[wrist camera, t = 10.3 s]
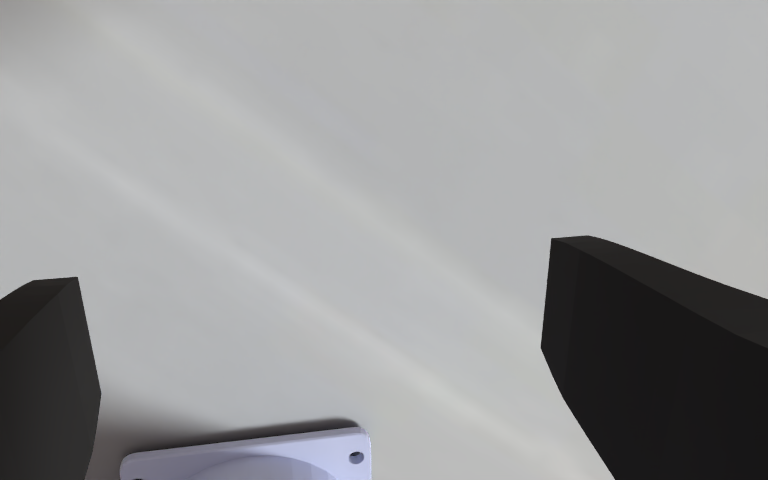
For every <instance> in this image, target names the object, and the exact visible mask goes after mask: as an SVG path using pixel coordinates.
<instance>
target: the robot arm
mask: <svg viewBox="0 0 768 480" xmlns="http://www.w3.org/2000/svg"><path fill="white" fill-rule="evenodd" d="M541 350H542V352H543V354H544V357H545V359H546V361H547V364H548V366H549V369H550V371H551V373H552V376H553V378H554V380H555V382H556V384H557V386H558V388H559V391H560V393H561V395H562V397H563V399H564V400H565V402H566V404H567V405H568V407H569V409H570V410H571V412H572V413H573V415H574V416H575V418H576V420H577V421H578V423H579V424H580V426H581V428H582V429H583V431H584V432H585V434H586V435H587V437H588V438H589V440H590V442H591V443H592V445H593V446H594V448H595V449H596V451H597V452H598V454H599V455H600V457H601V458H602V460H603V462H604V463H605V465H606V466H607V468H608V469H609V471H610V472H611V474H612V475H613V477H614V479H615V480H768V299H765V298H762V297H759V296H757V295H754V294H751V293H748V292H745V291H742V290H739V289H736V288H733V287H730V286H727V285H724V284H722V283H719V282H716V281H713V280H711V279H708V278H705V277H703V276H700V275H697V274H695V273H692V272H690V271H687V270H684V269H682V268H679V267H677V266H674V265H672V264H669V263H666V262H664V261H661V260H659V259H656V258H654V257H651V256H649V255H646V254H643V253H641V252H638V251H636V250H633V249H630V248H628V247H625V246H622V245H619V244H616V243H614V242H611V241H607V240H604V239H601V238H597V237H592V236H576V237H563V238H551V249H550V259H549V269H548V279H547V289H546V299H545V309H544V320H543V330H542V340H541ZM100 399H101V390H100V385H99V380H98V375H97V370H96V365H95V360H94V355H93V350H92V346H91V341H90V336H89V331H88V326H87V321H86V316H85V311H84V306H83V301H82V296H81V291H80V286H79V281H78V277H69V278H57V279H44V280H33V281H31V282H29V283H27V284H25V285H23V286H21V287H19V288H18V289H16V290H15V291H13V292H11V293H10V294H8V295H7V296H5V297H4V298H2V299H1V300H0V480H84V478H85V475H86V472H87V469H88V465H89V462H90V458H91V455H92V451H93V445H94V439H95V433H96V427H97V421H98V414H99V406H100ZM356 451H357V452H361V453H360V454H359V455H357V456H350V454H351V453H353V452H356ZM119 474H120V479H121V480H134V479H143V480H371V442H370V438H369V434H368V432H367V431H366V430H365V429H363V428H361V427H350V428H342V429H333V430H325V431H316V432H308V433H299V434H291V435H282V436H274V437H265V438H257V439H248V440H240V441H231V442H223V443H214V444H206V445H197V446H189V447H180V448H172V449H163V450H155V451H146V452H138V453H133V454H129V455H127V456H126V457H125V458H124V459H123V460H122V462H121V466H120V473H119Z"/></svg>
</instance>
